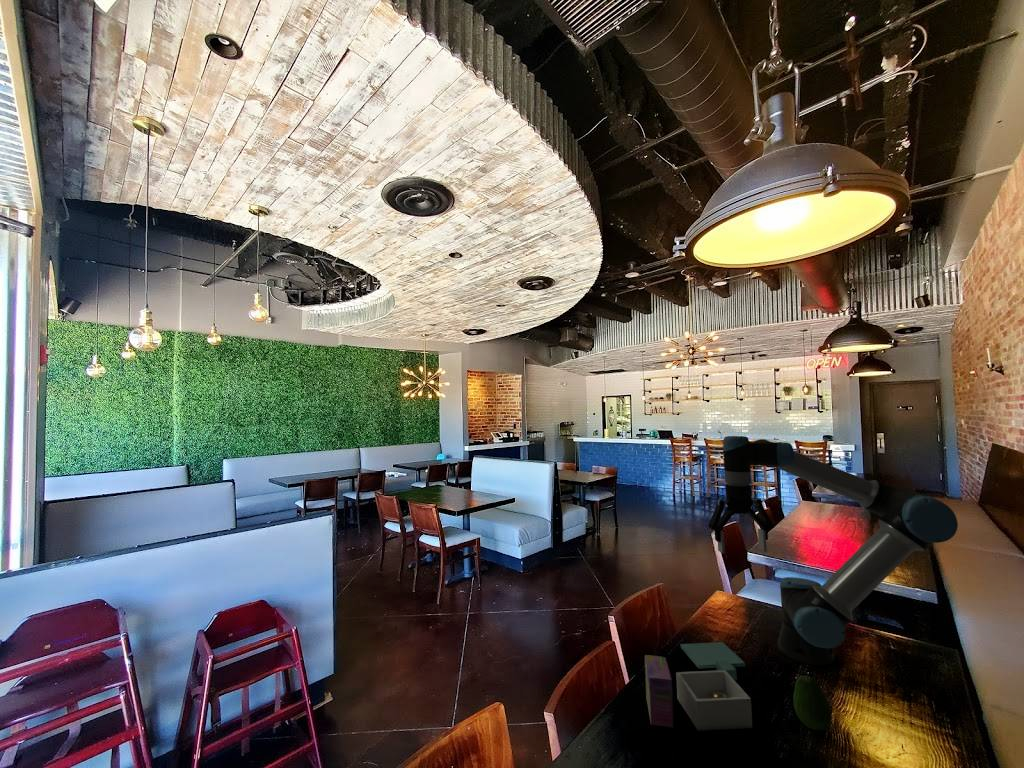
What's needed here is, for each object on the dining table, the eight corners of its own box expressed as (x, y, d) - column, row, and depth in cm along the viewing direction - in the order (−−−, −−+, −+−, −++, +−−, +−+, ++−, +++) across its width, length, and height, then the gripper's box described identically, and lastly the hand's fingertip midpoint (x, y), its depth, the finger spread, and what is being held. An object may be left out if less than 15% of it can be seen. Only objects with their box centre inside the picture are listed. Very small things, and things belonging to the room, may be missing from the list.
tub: (726, 696, 118) (725, 670, 118) (752, 728, 106) (750, 698, 106) (677, 698, 117) (676, 672, 118) (697, 730, 105) (696, 701, 106)
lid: (723, 648, 142) (722, 639, 143) (755, 679, 125) (754, 668, 125) (680, 650, 142) (680, 641, 142) (707, 681, 124) (706, 671, 124)
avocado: (790, 713, 110) (787, 666, 111) (826, 720, 108) (822, 671, 109) (800, 735, 103) (796, 684, 104) (838, 743, 100) (834, 690, 101)
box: (674, 728, 106) (671, 679, 107) (650, 725, 107) (648, 677, 108) (667, 700, 116) (665, 656, 117) (646, 698, 118) (644, 654, 119)
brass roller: (724, 697, 115) (726, 689, 114) (730, 708, 112) (731, 700, 111) (710, 698, 115) (711, 690, 114) (715, 709, 112) (717, 701, 111)
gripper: (768, 481, 141) (772, 546, 139) (694, 483, 140) (698, 548, 138) (783, 484, 133) (788, 553, 132) (706, 487, 132) (709, 556, 131)
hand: (742, 551), depth 135 cm, fingers open, 13 cm apart
